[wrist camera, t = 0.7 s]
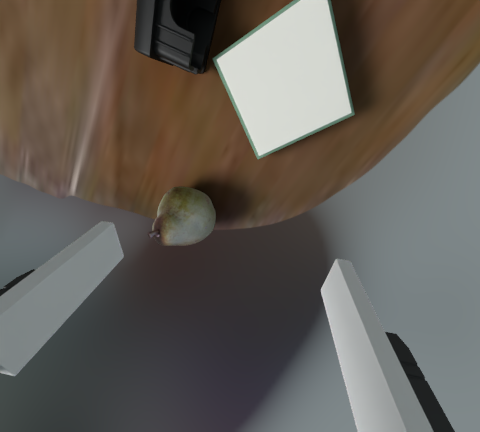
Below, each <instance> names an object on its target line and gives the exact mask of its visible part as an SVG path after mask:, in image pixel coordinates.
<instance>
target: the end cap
mask: <svg viewBox="0 0 480 432" xmlns="http://www.w3.org/2000/svg"><path fill="white" fill-rule="evenodd" d="M220 2H221V0H137V11H136V27H135V43H134V48H135V50H136V51H138V52H139V53H141V54H144V55H146V56H148V57H150V58H152V59H155V60H158V61H161V62H164V63H166V64H169V65H172V66H173V65H175V66H177V67H179V68H181V69H183V70H186V71H188V72H191V73H194V74H198V73H199V74H202V73H204V71H205V68H206V64H207V59H208V55H209V51H210V46H211V42H212V37H213V33H214V29H215V24H216V20H217V16H218V11H219V7H220Z"/></svg>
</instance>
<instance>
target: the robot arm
mask: <svg viewBox="0 0 480 432" xmlns="http://www.w3.org/2000/svg"><path fill="white" fill-rule="evenodd" d="M123 257H124V255H123V252H122V249H121V246H120V242H119V239H118V236H117V232H116V229H115V226H114V223H110V222H104V221H101V222H100V223H99V224H97V225H96V226H94V227H93V228H92V229H90V230H89V231H88V232H86V233H85V234H84V235H83V236H81V237H80V238H78V239H77V240H76V241H74V242H73V243H72V244H70V245H69V246H67V247H66V248H65V249H63V250H62V251H61V252H59V253H58V254H57V255H55V256H54V257H53V258H51V259H50V260H49V261H47V262H46V263H45V264H43V265H42V266H41V267H39V268H38V269H37V270H34V269H33V270H31V271H29V272H27V273H25V274H23V275H21V276H19V277H17V278H16V279H14V280H13V281H11V282H10V283H8V284H7V285H6V286H4V288H3V289H0V373H3V374H8V375H12V376H16V375H17V374H18V372H19V371H20V370H21V369H22V368H23V367H24V366H25V365H26V364H27V363H28V361H29V360H30V359H31V358H32V357H33V356H34V355H35V354H36V353H37V352H38V350H39V349H40V348H41V347H42V346H43V345H44V344H45V343H46V342H47V341H48V339H49V338H50V337H51V336H52V335H53V334H54V333H55V332H56V331H57V330H58V329H59V327H60V326H61V325H62V324H63V323H64V322H65V321H66V320H67V319H68V318H69V316H70V315H71V314H72V313H73V312H74V311H75V310H76V309H77V308H78V306H79V305H80V304H81V303H82V302H83V301H84V300H85V299H86V298H87V297H88V295H89V294H90V293H91V292H92V291H93V290H94V289H95V288H96V287H97V286H98V285H99V284H100V282H101V281H102V280H103V279H104V278H105V277H106V276H107V275H108V274H109V272H110V271H111V270H112V269H113V268H114V267H115V266H116V265H117V264H118V263H119V261H120V260H121V259H122V258H123ZM321 293H322V297H323V301H324V305H325V309H326V313H327V316H328V320H329V324H330V328H331V331H332V335H333V339H334V343H335V346H336V351H337V354H338V358H339V362H340V366H341V370H342V374H343V377H344V381H345V385H346V389H347V393H348V396H349V400H350V404H351V408H352V412H353V415H354V419H355V423H356V427H357V430H358V432H455V431H454V430H453V428H452V426H451V424H450V422H449V421H448V419H447V417H446V415H445V413H444V412H443V410H442V408H441V406H440V404H439V402H438V401H437V399H436V397H435V395H434V393H433V392H432V390H431V388H430V386H429V384H428V383H427V381H425V379H424V378H425V377H424V375H423V373H422V372H421V370H420V368H419V367H418V366H417V363H416V361H415V359H414V357H413V355H412V353H411V352H410V350H409V348H408V347H407V346H406V345H405V344H404V342H403V341H402V340H401V339H400V338H399V337H398V336H397V334H393V333H388V332H385V331H384V329H383V327H382V325H381V323H380V321H379V319H378V317H377V315H376V313H375V311H374V309H373V307H372V305H371V303H370V300H369V298H368V296H367V294H366V292H365V290H364V288H363V286H362V284H361V282H360V280H359V278H358V276H357V274H356V272H355V270H354V268H353V266H352V264H351V262H350V261H348V260H341V259H336V260H335V262H334V264H333V266H332V268H331V270H330V272H329V274H328V276H327V278H326V280H325V283H324V284H323V286H322V288H321Z"/></svg>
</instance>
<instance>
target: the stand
mask: <svg viewBox="0 0 480 432" xmlns="http://www.w3.org/2000/svg"><path fill="white" fill-rule="evenodd" d="M213 61H214V63H215V66H216V68H217V70H218V72H219V75H220V77H221V79H222V81H223V84H224V86H225V88H226V90H227V92H228V95H229V97H230V99H231V101H232V104H233V106H234V108H235V110H236V112H237V115H238V117H239V119H240V121H241V124H242V126H243V128H244V130H245V133H246V135H247V137H248V139H249V141H250V144H251V146H252V148H253V150H254V153H255V155H256V157H257V159H260V158H262V157H264V156H266V155H268V154H271V153H273V152H275V151H277V150H279V149H281V148H284V147H286V146H288V145H290V144H292V143H294V142H296V141H299V140H301V139H303V138H305V137H307V136H309V135H312V134H314V133H316V132H318V131H320V130H322V129H324V128H327V127H329V126H331V125H333V124H335V123H337V122H340V121H342V120H344V119H346V118H348V117H350V116H352V115H355V114H354V109H353V104H352V100H351V95H350V90H349V85H348V80H347V76H346V71H345V66H344V61H343V57H342V52H341V47H340V42H339V38H338V33H337V28H336V23H335V19H334V14H333V9H332V4H331V0H294V1H292V2H291V3H290V4H288V5H287V6H285V7H284V8H283V9H281V10H280V11H278V12H277V13H276V14H274V15H273V16H271V17H270V18H269V19H267V20H266V21H264V22H263V23H262V24H260V25H259V26H257V27H256V28H255V29H253V30H252V31H251V32H249V33H248V34H246V35H245V36H244V37H242V38H241V39H239V40H238V41H237V42H235V43H234V44H232V45H231V46H230V47H228V48H227V49H225V50H224V51H223V52H221V53H220V54H218V55H217V56H216V57H214V58H213Z"/></svg>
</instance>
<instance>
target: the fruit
mask: <svg viewBox="0 0 480 432" xmlns="http://www.w3.org/2000/svg"><path fill="white" fill-rule="evenodd" d="M215 220H216V213H215V209H214V207H213V205H212V202H211V200H210V198H209V197H208V196H207V195H206V194H205V193H203V192H201V191H199V190H196V189H193V188H189V187H174V188H172V189H170V190H169V191H168V192H167V193H166V194H165V195H164V196H163V198H162V200H161V203H160V205H159V207H158V212H157V218H156V219H155V221H154V224H153V229H152V232H148V236H149V238H151V237H152V236H154V238H155V240H156V242H157V243H159V244H161V245H164V246H171V245H177V246H184V245H190V244H195V243H197V242H199V241H201V240H203V239H204V238H205V237H207V236H208V235H209V234H210V233H211V232H212V230H213V228H214V225H215Z"/></svg>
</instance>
